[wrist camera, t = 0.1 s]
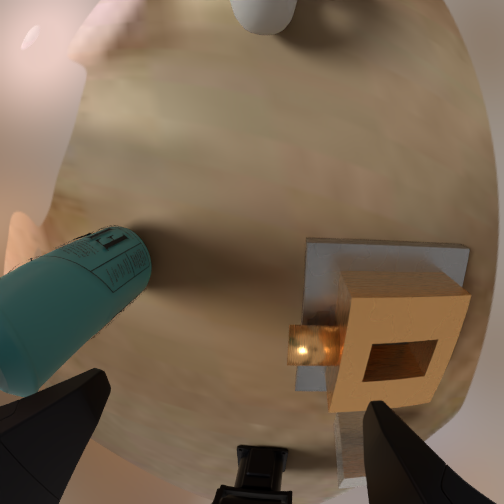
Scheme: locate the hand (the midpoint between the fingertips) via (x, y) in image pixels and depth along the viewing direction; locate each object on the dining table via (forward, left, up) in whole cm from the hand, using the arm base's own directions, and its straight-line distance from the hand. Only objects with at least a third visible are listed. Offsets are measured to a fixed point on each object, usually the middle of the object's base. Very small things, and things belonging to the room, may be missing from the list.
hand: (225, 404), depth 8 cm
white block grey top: (-18, -10, -15) cm, 25 cm away
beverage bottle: (0, +12, -15) cm, 19 cm away
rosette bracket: (-5, -10, -15) cm, 18 cm away
